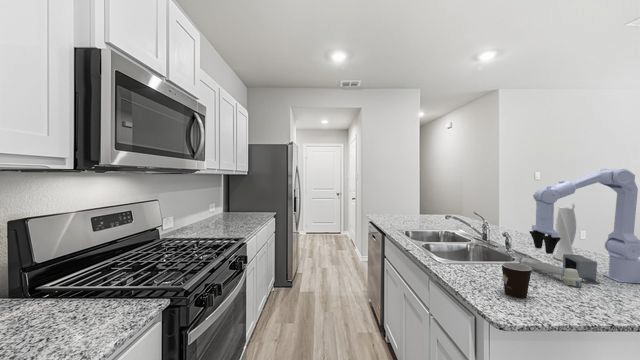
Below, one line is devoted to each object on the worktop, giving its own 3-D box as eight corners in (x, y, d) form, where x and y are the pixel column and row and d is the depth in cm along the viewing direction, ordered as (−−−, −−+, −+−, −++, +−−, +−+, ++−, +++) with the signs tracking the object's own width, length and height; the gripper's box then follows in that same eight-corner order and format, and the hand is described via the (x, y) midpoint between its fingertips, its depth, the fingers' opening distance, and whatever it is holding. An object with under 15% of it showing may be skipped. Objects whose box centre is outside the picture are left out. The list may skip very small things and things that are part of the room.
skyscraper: (581, 263, 134) (583, 203, 133) (564, 263, 134) (566, 203, 133) (566, 257, 142) (568, 201, 141) (549, 257, 142) (551, 201, 141)
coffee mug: (532, 302, 94) (532, 272, 94) (501, 296, 99) (501, 267, 98) (528, 289, 104) (529, 262, 104) (500, 284, 109) (501, 258, 108)
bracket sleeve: (574, 271, 123) (574, 253, 123) (601, 284, 109) (602, 264, 109) (557, 270, 124) (557, 252, 124) (581, 283, 110) (582, 263, 110)
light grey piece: (527, 256, 131) (584, 267, 107) (528, 271, 131) (586, 286, 106) (517, 257, 131) (572, 268, 106) (518, 272, 130) (574, 287, 105)
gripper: (524, 215, 126) (523, 245, 126) (544, 220, 111) (543, 255, 112) (542, 215, 125) (541, 246, 125) (564, 221, 110) (563, 256, 111)
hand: (543, 250), depth 118 cm, fingers open, 7 cm apart
